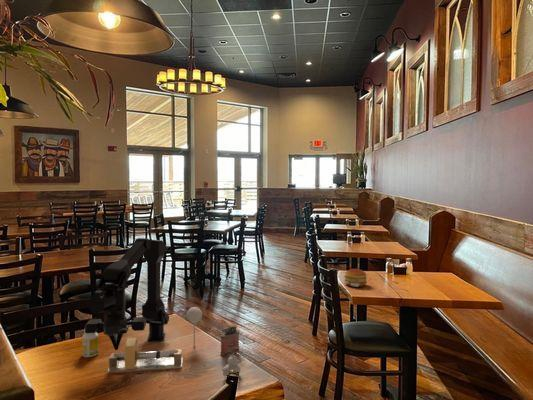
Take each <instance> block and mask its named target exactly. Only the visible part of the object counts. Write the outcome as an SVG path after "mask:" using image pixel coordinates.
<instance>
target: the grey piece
mask: <svg viewBox="0 0 533 400" xmlns="http://www.w3.org/2000/svg"><path fill="white" fill-rule="evenodd" d="M182 350H183V349H182V348H178V349H169V350H152V351H137V352H135V360H137V362H136V365H135V368H134V369H125V352H113V353H111V354H110V355H109V358H108V365H109V366H108V369H107V374H111V373H112V374H113V373H126V372H127V373H128V372H143V371H144V372H145V371H157V370H160V371H161V370H169V369H170V370H172V369H182V368H183V361H184V359H183V357H182V352H183V351H182Z"/></svg>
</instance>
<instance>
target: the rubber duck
mask: <svg viewBox="0 0 533 400" xmlns="http://www.w3.org/2000/svg"><path fill="white" fill-rule="evenodd" d="M238 363H239V360H238V358H237V356H235V354H234V353H233V355H232V354H231V355H230V356H228V359H227V364H226V365H225V366H224V367H222V369H221V370H222V376H224V377H228V376H227V372H228V371H229V370H233V371H239V372H240V373H241V366H240V365H239V364H238Z"/></svg>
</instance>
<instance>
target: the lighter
mask: <svg viewBox="0 0 533 400" xmlns="http://www.w3.org/2000/svg"><path fill="white" fill-rule="evenodd" d="M237 327H238V326H237V324H236V325H235V324H234V325H231V324H230V325H228V327H223V328H222V329H221V330H222V333H221V334H220V352H219V353H220V357H223V358H225V357H230V355H231V354H232V355H233V353H234V355H235V354H236V353H238V352H240V347H239V345H240V343H239V341H240V335H239V334H240V330H238V329H237Z"/></svg>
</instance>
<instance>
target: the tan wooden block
mask: <svg viewBox="0 0 533 400" xmlns="http://www.w3.org/2000/svg"><path fill="white" fill-rule="evenodd" d="M135 352H138V337H128V338H127V340H126V343H125V344H124V353H125V369H134V368H135V365H136V362H137V360H135Z"/></svg>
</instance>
